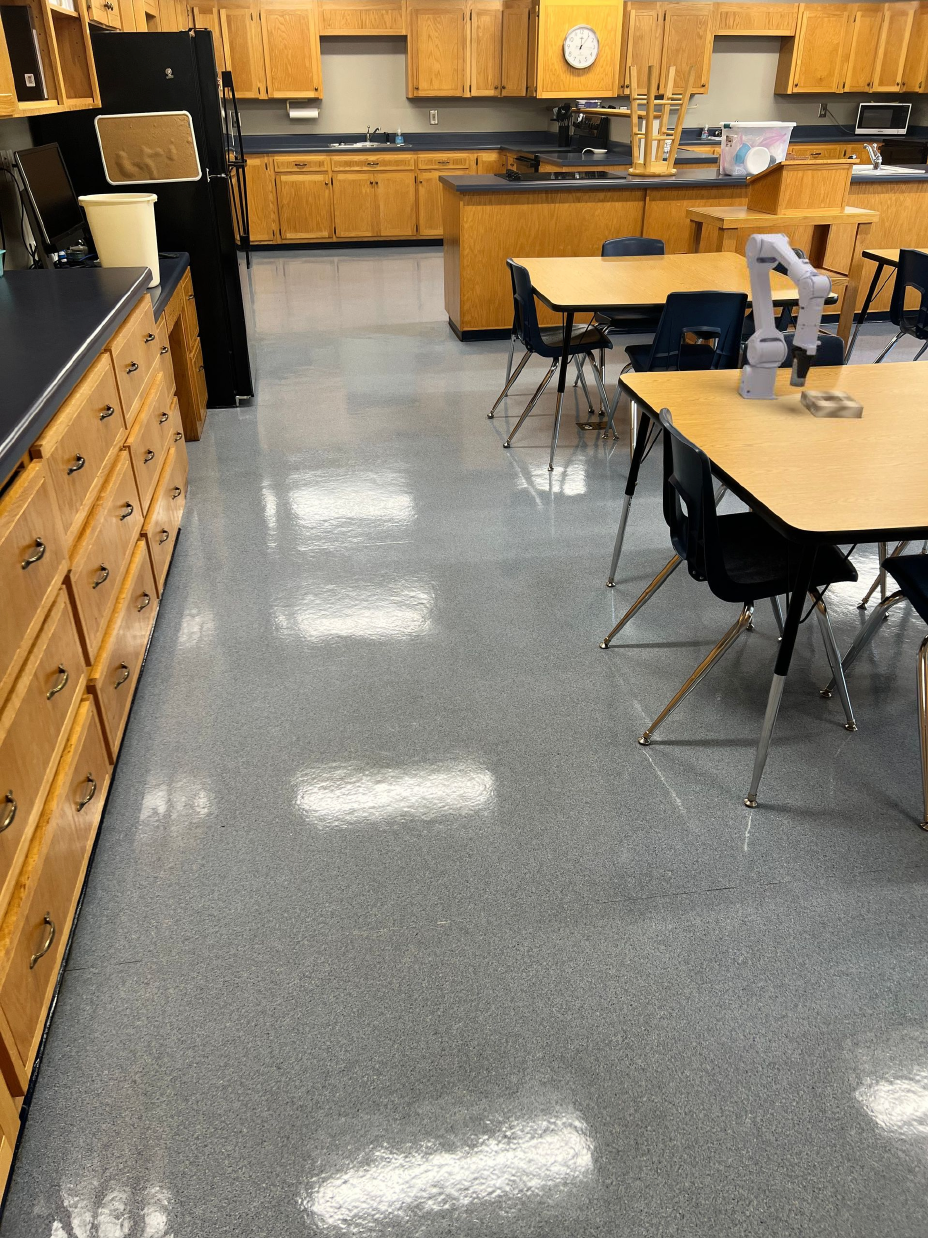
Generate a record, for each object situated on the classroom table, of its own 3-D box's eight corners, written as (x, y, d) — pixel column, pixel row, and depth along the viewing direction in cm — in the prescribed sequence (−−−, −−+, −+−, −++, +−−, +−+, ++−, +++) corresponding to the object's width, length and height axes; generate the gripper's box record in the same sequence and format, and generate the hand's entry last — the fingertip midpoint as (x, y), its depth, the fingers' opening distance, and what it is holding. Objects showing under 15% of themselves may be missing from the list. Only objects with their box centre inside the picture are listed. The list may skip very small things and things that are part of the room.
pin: (791, 386, 243) (796, 360, 240) (787, 383, 247) (792, 357, 243) (806, 387, 243) (811, 360, 240) (802, 383, 246) (807, 357, 243)
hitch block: (815, 416, 242) (818, 405, 241) (799, 401, 256) (801, 390, 255) (861, 417, 241) (863, 406, 240) (842, 401, 255) (845, 391, 254)
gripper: (831, 329, 230) (821, 382, 237) (815, 319, 243) (806, 369, 250) (804, 329, 231) (794, 382, 237) (789, 318, 244) (780, 369, 250)
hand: (798, 375), depth 244 cm, fingers closed on pin, 4 cm apart
